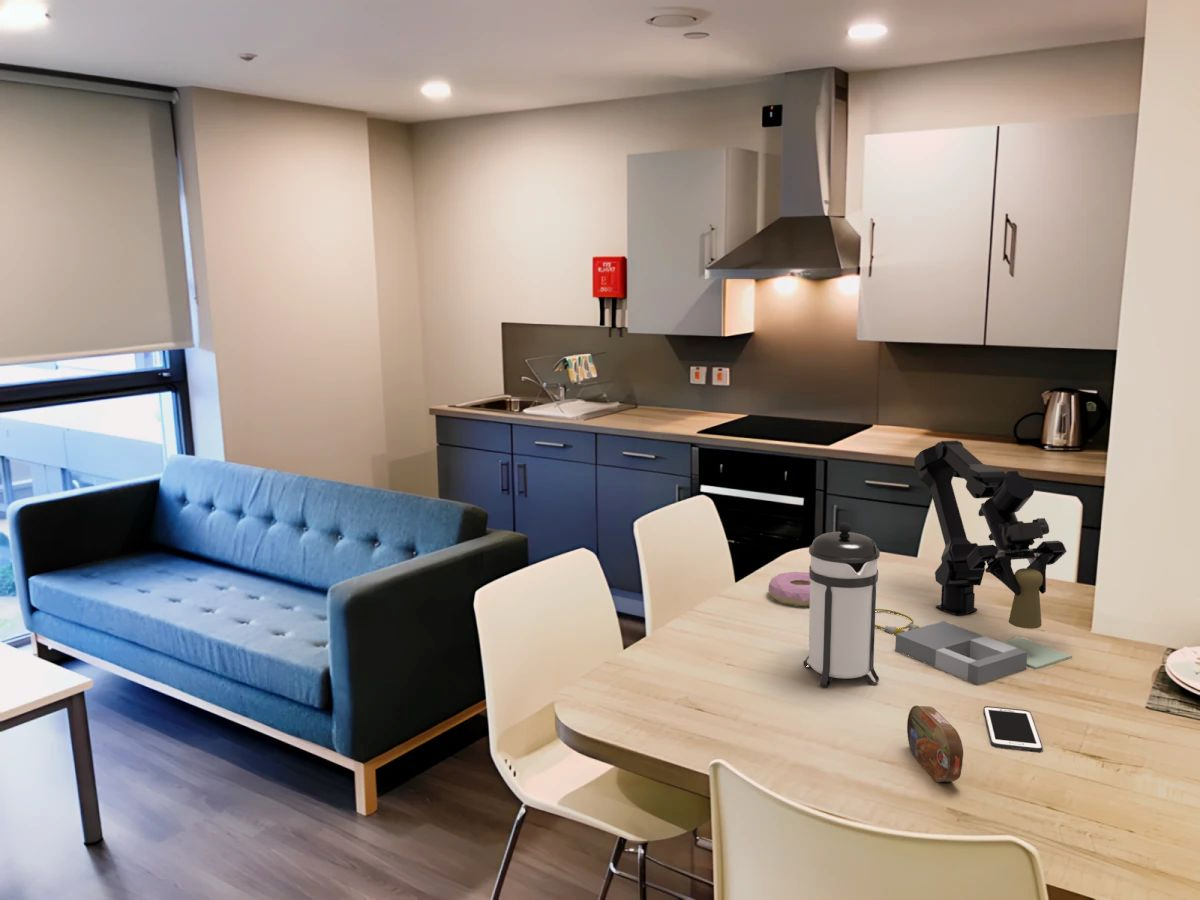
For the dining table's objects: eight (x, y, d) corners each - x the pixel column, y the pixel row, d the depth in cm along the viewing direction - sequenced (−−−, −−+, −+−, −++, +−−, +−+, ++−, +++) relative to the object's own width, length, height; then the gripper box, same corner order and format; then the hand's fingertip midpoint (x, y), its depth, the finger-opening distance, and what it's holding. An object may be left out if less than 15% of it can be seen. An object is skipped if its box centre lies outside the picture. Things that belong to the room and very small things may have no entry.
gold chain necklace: (865, 638, 206) (865, 629, 205) (856, 613, 221) (856, 604, 221) (925, 640, 204) (925, 631, 204) (911, 614, 219) (911, 606, 219)
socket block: (895, 650, 197) (895, 633, 197) (943, 637, 204) (943, 621, 204) (977, 684, 180) (978, 667, 180) (1026, 669, 187) (1027, 651, 186)
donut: (767, 588, 239) (767, 568, 238) (830, 589, 237) (831, 570, 236) (769, 608, 224) (769, 587, 223) (837, 611, 222) (837, 589, 221)
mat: (983, 649, 197) (983, 647, 197) (1019, 638, 203) (1019, 636, 203) (1035, 669, 187) (1036, 667, 187) (1071, 657, 192) (1072, 655, 192)
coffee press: (897, 671, 187) (903, 519, 181) (856, 698, 175) (862, 537, 170) (817, 649, 198) (821, 506, 193) (774, 673, 187) (777, 521, 182)
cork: (1026, 616, 197) (1030, 563, 195) (1048, 626, 191) (1052, 572, 189) (1001, 619, 195) (1005, 567, 193) (1023, 630, 189) (1027, 576, 187)
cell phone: (991, 749, 157) (991, 743, 157) (982, 710, 171) (982, 705, 170) (1043, 754, 155) (1043, 749, 154) (1030, 715, 168) (1030, 710, 168)
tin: (904, 745, 158) (906, 696, 156) (923, 744, 158) (925, 695, 157) (944, 793, 143) (947, 740, 142) (965, 792, 143) (968, 738, 142)
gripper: (978, 506, 191) (1006, 578, 182) (1064, 501, 194) (1096, 571, 185) (955, 534, 200) (980, 603, 192) (1038, 529, 203) (1066, 597, 195)
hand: (1031, 593), depth 191 cm, fingers closed on cork, 5 cm apart
